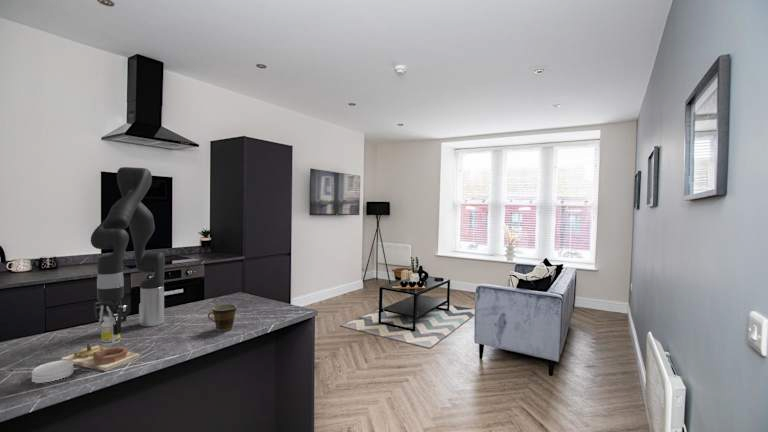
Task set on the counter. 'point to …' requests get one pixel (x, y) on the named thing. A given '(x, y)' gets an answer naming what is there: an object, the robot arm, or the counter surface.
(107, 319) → the supplement bottle
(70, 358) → the gear board
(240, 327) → the counter surface
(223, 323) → the ceramic cup
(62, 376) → the coaster
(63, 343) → the counter surface
